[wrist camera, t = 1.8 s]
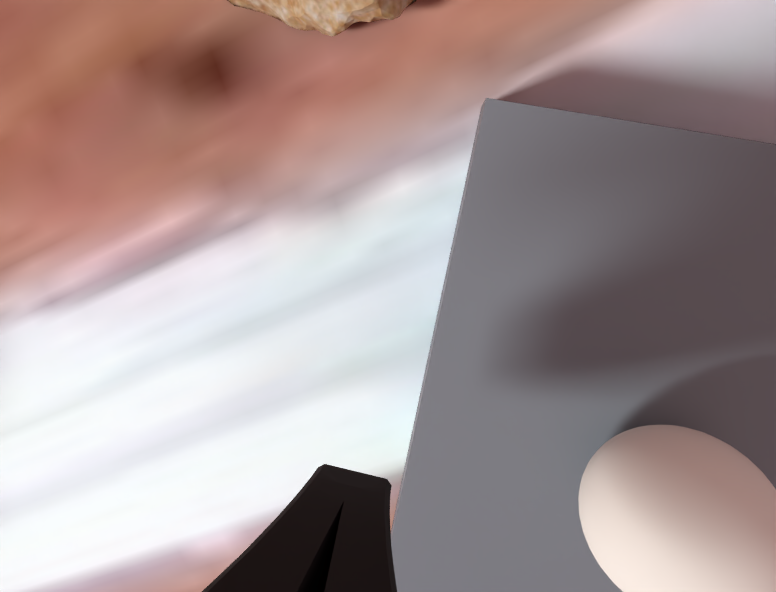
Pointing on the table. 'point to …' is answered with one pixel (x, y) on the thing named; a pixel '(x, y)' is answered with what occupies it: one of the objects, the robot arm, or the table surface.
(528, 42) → the table surface
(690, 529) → the ball
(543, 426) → the plate
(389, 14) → the stone
